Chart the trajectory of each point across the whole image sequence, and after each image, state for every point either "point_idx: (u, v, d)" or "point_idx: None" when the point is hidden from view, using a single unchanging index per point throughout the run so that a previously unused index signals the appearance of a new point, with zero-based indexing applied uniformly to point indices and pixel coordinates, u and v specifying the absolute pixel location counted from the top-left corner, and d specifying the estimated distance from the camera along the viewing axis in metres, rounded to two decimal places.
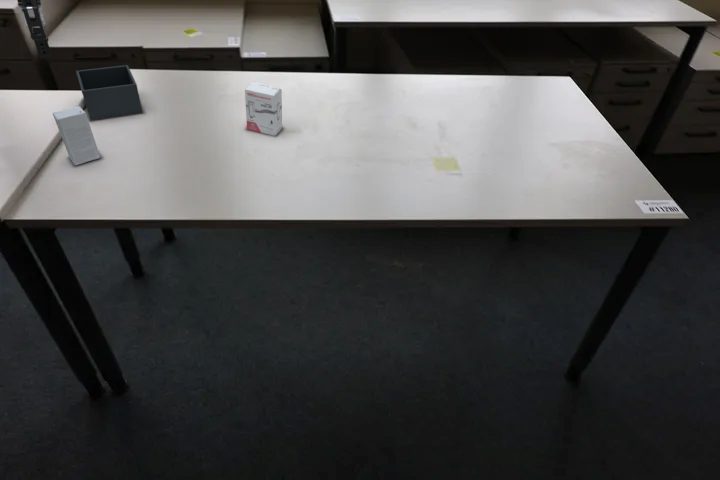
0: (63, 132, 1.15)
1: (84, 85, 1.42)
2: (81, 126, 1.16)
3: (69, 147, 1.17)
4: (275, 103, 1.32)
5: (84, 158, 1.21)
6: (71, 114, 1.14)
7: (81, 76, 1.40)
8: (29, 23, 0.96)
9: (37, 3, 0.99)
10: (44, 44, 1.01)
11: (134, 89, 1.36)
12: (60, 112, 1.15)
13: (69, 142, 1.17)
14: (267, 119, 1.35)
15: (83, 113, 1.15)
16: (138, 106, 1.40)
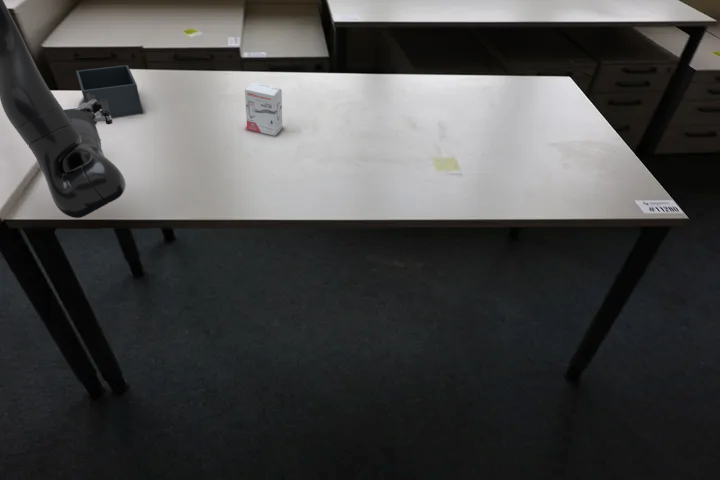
0: None
1: (84, 85, 1.42)
2: None
3: None
4: (275, 103, 1.32)
5: None
6: None
7: (81, 76, 1.40)
8: None
9: None
10: None
11: (134, 89, 1.36)
12: None
13: None
14: (267, 119, 1.35)
15: None
16: (138, 106, 1.40)
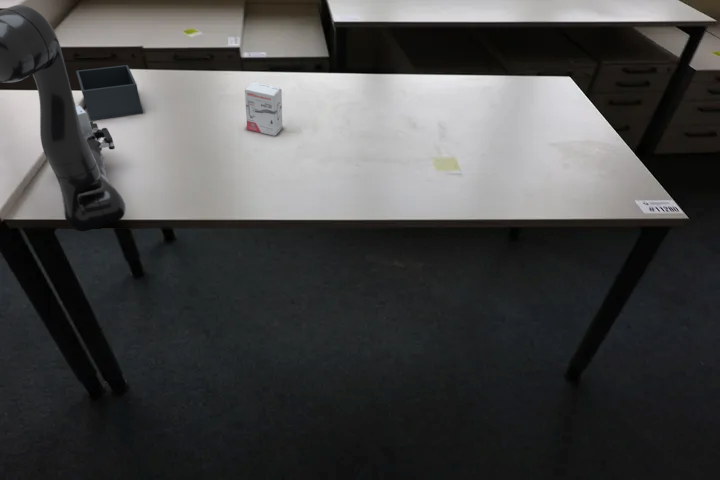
0: None
1: (84, 85, 1.42)
2: (82, 125, 1.16)
3: None
4: (275, 103, 1.32)
5: None
6: None
7: (81, 76, 1.40)
8: None
9: None
10: None
11: (134, 89, 1.36)
12: None
13: None
14: (267, 119, 1.35)
15: (84, 113, 1.15)
16: (138, 106, 1.40)
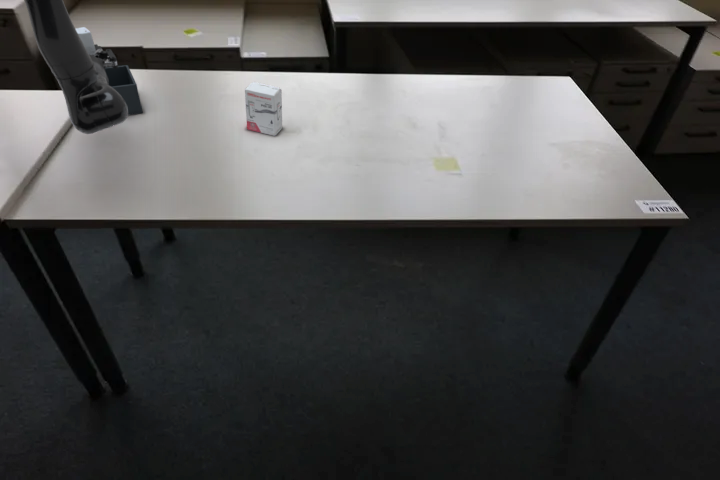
0: None
1: None
2: (86, 45, 1.19)
3: None
4: (275, 103, 1.32)
5: None
6: (77, 32, 1.17)
7: None
8: None
9: None
10: None
11: (134, 89, 1.36)
12: None
13: None
14: (267, 119, 1.35)
15: (88, 32, 1.18)
16: (138, 106, 1.40)
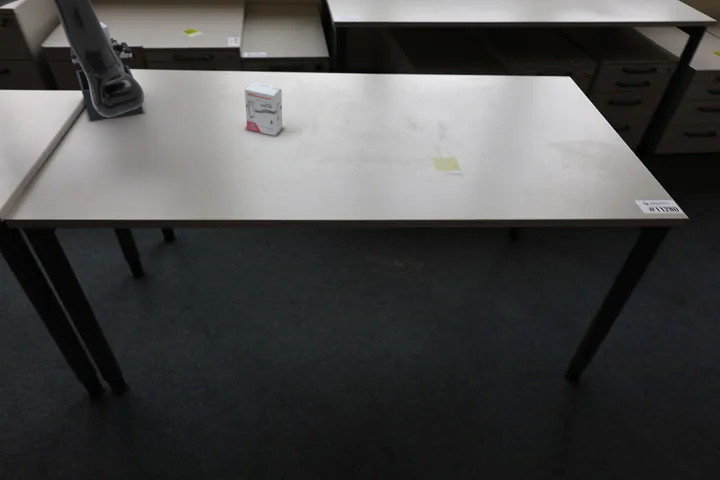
0: None
1: (84, 85, 1.42)
2: None
3: None
4: (275, 103, 1.32)
5: None
6: None
7: (81, 76, 1.40)
8: None
9: None
10: None
11: None
12: None
13: None
14: (267, 119, 1.35)
15: (105, 27, 1.29)
16: None
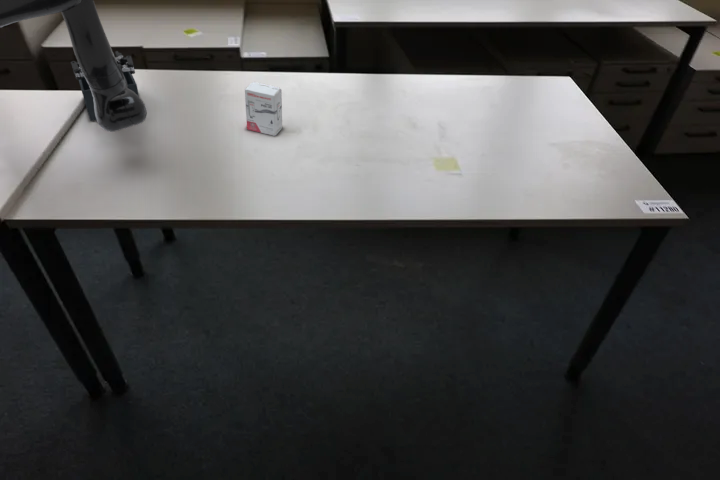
0: None
1: (84, 85, 1.42)
2: None
3: None
4: (275, 103, 1.32)
5: None
6: None
7: None
8: (72, 67, 1.27)
9: None
10: None
11: (134, 89, 1.36)
12: None
13: None
14: (267, 119, 1.35)
15: None
16: None
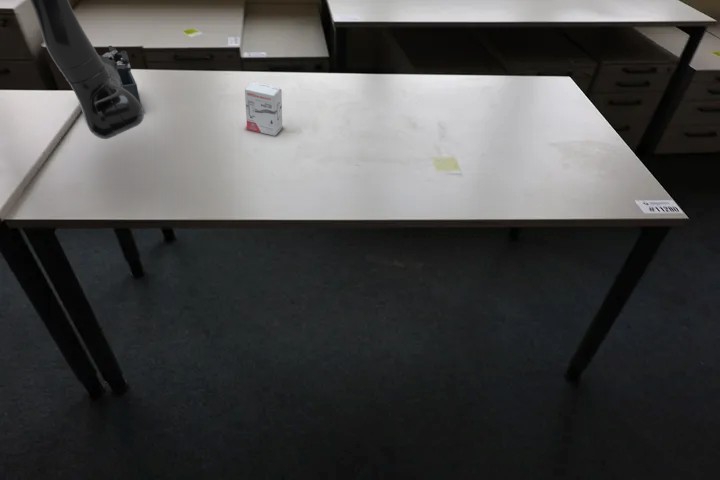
0: None
1: None
2: None
3: None
4: (275, 103, 1.32)
5: None
6: None
7: None
8: None
9: None
10: None
11: (134, 89, 1.36)
12: None
13: None
14: (267, 119, 1.35)
15: None
16: None
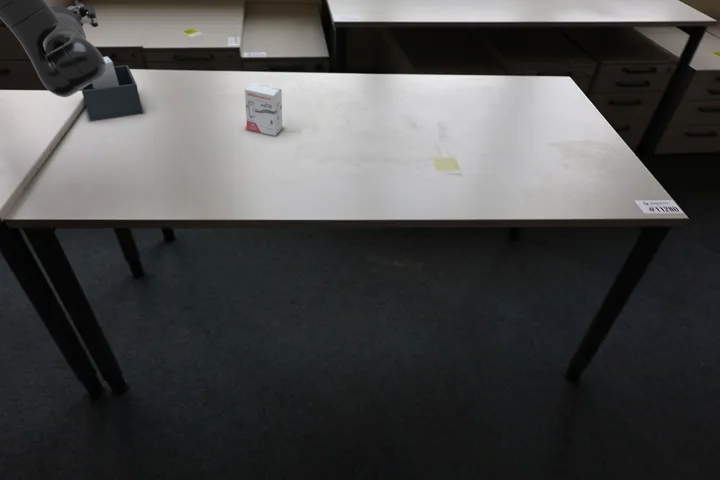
0: None
1: None
2: (108, 73, 1.36)
3: None
4: (275, 103, 1.32)
5: None
6: None
7: None
8: None
9: None
10: None
11: (134, 89, 1.36)
12: None
13: (98, 86, 1.36)
14: (267, 119, 1.35)
15: (110, 62, 1.34)
16: (138, 106, 1.40)
